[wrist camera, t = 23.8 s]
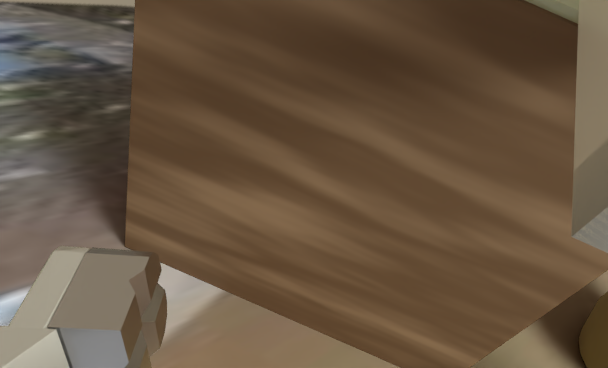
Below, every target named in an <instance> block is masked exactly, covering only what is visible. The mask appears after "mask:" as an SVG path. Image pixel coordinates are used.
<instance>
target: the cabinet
mask: <svg viewBox="0 0 608 368" xmlns="http://www.w3.org/2000/svg"><path fill="white" fill-rule="evenodd" d="M577 46H578V24H577V23H575V22H572V21H570V20H568V19H566V18H563V17H561V16H559V15H557V14H554V13H552V12H550V11H548V10H545V9H543V8H541V7H538V6H536V5H534V4H532V3H529V2H527V1H525V0H135V16H134V40H133V64H132V88H131V112H130V135H129V159H128V183H127V207H126V231H125V247H127V248H129V249H131V250H134V251H145V252H154V253H156V254H158V256H159V261H160V262H161V263H163V264H166V265H168V266H170V267H173V268H175V269H177V270H179V271H182V272H184V273H186V274H189V275H191V276H193V277H195V278H198V279H200V280H202V281H205V282H207V283H209V284H211V285H214V286H216V287H218V288H220V289H223V290H225V291H227V292H230V293H232V294H234V295H236V296H239V297H241V298H243V299H246V300H248V301H250V302H252V303H255V304H257V305H259V306H262V307H264V308H266V309H268V310H271V311H273V312H275V313H278V314H280V315H282V316H284V317H287V318H289V319H291V320H294V321H296V322H298V323H300V324H303V325H305V326H307V327H310V328H312V329H314V330H316V331H319V332H321V333H323V334H326V335H328V336H330V337H332V338H335V339H337V340H339V341H342V342H344V343H346V344H348V345H351V346H353V347H355V348H358V349H360V350H362V351H364V352H367V353H369V354H371V355H374V356H376V357H378V358H380V359H383V360H385V361H387V362H390V363H392V364H394V365H396V366H399V367H401V368H470V367H471V366H472V365H474V364H475V363H477V362H478V361H480V360H481V359H482V358H484V357H485V356H487V355H488V354H489V353H491V352H492V351H494V350H495V349H497V348H498V347H499V346H501V345H502V344H504V343H505V342H506V341H508V340H509V339H511V338H512V337H514V336H515V335H516V334H518V333H519V332H521V331H522V330H523V329H525V328H526V327H528V326H529V325H531V324H532V323H533V322H535V321H536V320H538V319H539V318H540V317H542V316H543V315H545V314H546V313H548V312H549V311H550V310H552V309H553V308H555V307H556V306H557V305H559V304H560V303H562V302H563V301H565V300H566V299H567V298H569V297H570V296H572V295H573V294H574V293H576V292H577V291H579V290H580V289H582V288H583V287H584V286H586V285H587V284H589V283H590V282H591V281H593V280H594V279H596V278H597V277H599V276H600V275H601V274H603V273H604V272H606V271H607V270H608V253H607V252H604V251H602V250H600V249H598V248H595V247H593V246H591V245H589V244H586V243H584V242H582V241H580V240H577V239H575V238H573V237H571V234H572V202H573V171H574V140H575V108H576V77H577Z"/></svg>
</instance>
